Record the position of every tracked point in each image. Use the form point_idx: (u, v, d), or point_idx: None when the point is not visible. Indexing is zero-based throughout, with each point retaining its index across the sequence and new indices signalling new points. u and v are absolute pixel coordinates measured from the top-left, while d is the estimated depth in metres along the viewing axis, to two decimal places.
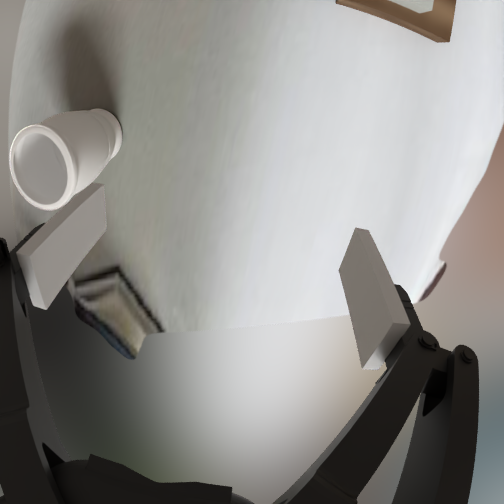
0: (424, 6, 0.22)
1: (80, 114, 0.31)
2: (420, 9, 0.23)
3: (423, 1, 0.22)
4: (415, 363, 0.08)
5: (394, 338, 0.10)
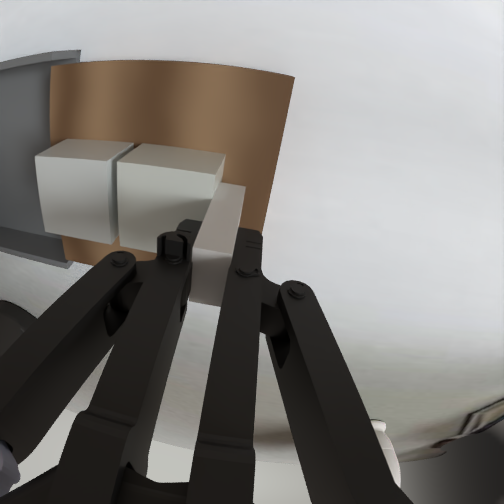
0: (211, 193, 0.15)
1: None
2: (219, 177, 0.16)
3: (198, 197, 0.15)
4: (242, 295, 0.10)
5: (222, 269, 0.12)
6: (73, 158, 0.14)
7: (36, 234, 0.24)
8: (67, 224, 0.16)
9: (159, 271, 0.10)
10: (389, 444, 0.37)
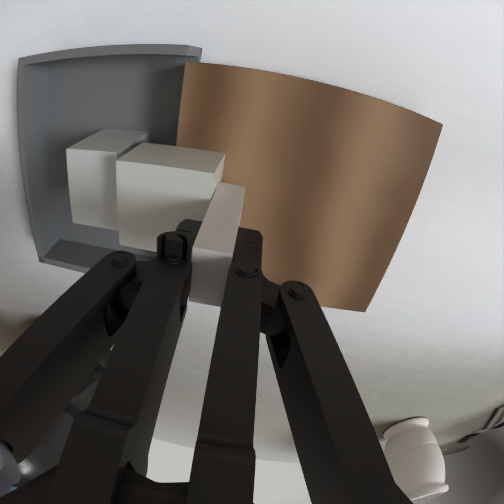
0: (210, 192, 0.15)
1: (394, 465, 0.36)
2: (218, 175, 0.16)
3: (197, 196, 0.15)
4: (242, 295, 0.10)
5: (222, 269, 0.12)
6: None
7: (117, 250, 0.25)
8: None
9: (159, 271, 0.10)
10: (434, 438, 0.37)
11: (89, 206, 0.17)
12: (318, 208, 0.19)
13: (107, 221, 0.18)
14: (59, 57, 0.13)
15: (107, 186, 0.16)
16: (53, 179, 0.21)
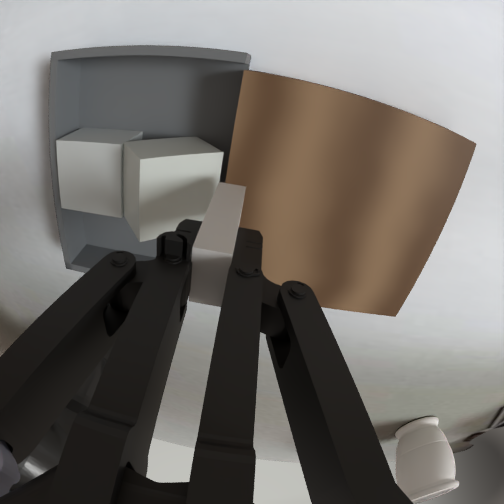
0: (219, 167, 0.18)
1: (407, 463, 0.36)
2: None
3: (211, 173, 0.18)
4: (242, 295, 0.10)
5: (222, 269, 0.12)
6: None
7: (150, 257, 0.25)
8: None
9: (159, 271, 0.10)
10: (444, 437, 0.38)
11: None
12: (363, 220, 0.19)
13: None
14: (101, 54, 0.14)
15: None
16: None
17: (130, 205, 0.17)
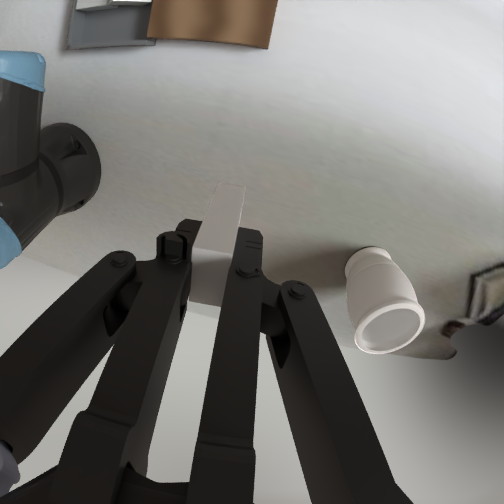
0: None
1: (355, 284, 0.43)
2: None
3: None
4: (242, 295, 0.10)
5: (222, 269, 0.12)
6: None
7: None
8: None
9: (159, 271, 0.10)
10: (397, 266, 0.45)
11: None
12: None
13: None
14: None
15: None
16: None
17: None
